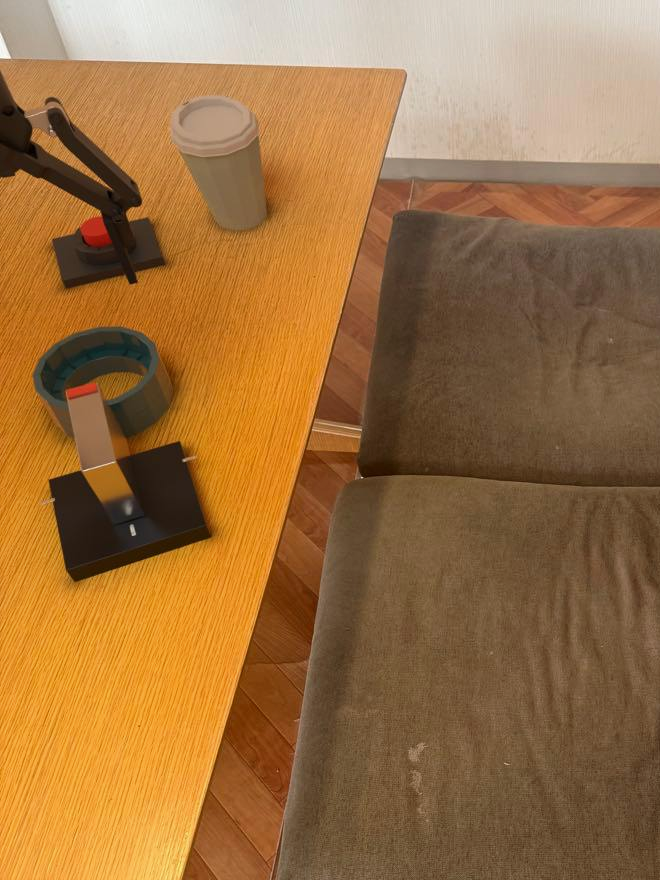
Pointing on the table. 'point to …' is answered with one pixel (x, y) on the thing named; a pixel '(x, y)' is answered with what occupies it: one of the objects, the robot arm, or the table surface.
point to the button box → (104, 256)
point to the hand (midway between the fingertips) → (55, 293)
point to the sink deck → (159, 531)
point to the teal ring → (100, 356)
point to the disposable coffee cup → (222, 157)
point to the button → (95, 232)
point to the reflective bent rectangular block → (104, 453)
